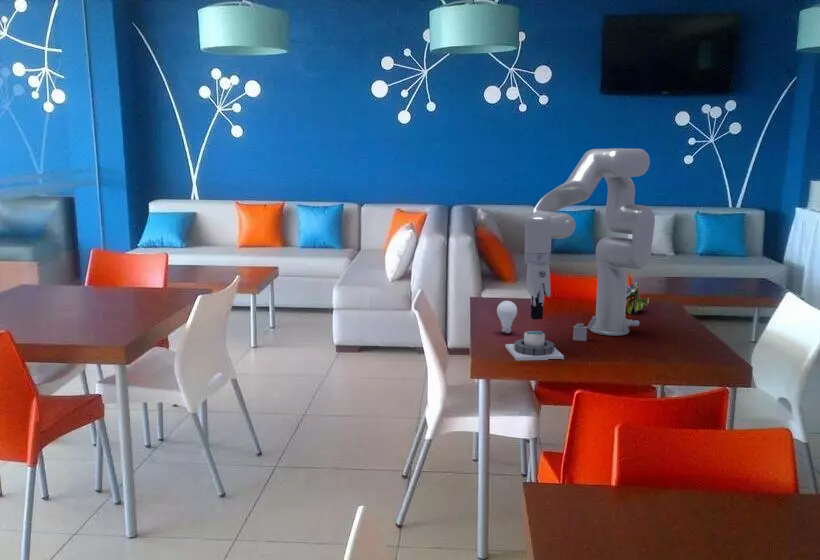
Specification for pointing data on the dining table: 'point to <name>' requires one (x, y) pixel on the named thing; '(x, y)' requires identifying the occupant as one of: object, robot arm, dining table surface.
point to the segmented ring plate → (533, 351)
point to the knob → (534, 338)
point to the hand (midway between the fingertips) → (536, 318)
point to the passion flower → (634, 299)
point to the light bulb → (506, 315)
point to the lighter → (582, 330)
